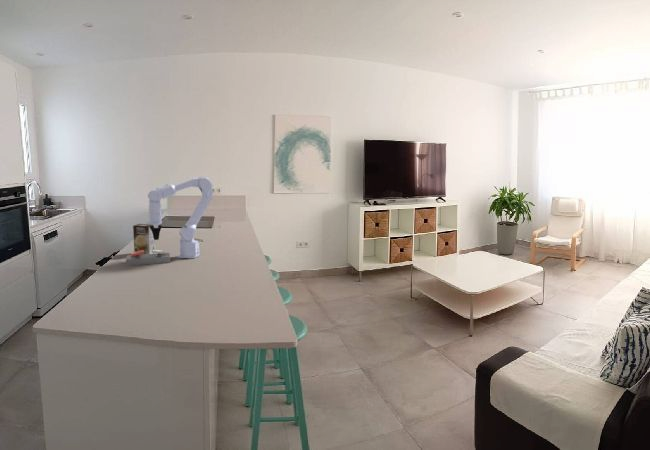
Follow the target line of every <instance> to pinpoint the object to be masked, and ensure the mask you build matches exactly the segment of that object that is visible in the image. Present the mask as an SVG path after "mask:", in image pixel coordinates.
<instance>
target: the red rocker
mask: <svg viewBox="0 0 650 450" xmlns="http://www.w3.org/2000/svg"><path fill="white" fill-rule="evenodd" d="M142 253H144V250H141V251H138V252H131V253H130V255H131V257H132V256H135V255H139V254H142Z"/></svg>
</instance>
